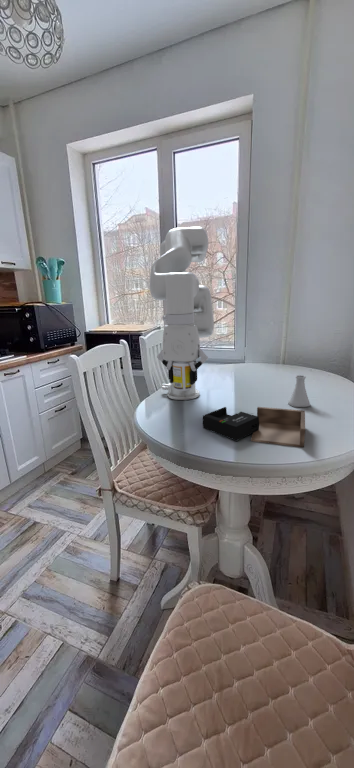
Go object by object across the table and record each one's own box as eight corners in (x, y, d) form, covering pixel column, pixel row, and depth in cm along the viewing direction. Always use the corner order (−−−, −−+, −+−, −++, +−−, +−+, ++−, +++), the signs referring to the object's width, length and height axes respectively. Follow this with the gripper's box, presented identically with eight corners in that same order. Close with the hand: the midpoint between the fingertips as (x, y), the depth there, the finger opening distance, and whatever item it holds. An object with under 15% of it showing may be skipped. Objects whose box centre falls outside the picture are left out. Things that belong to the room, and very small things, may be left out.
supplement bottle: (192, 385, 96) (191, 352, 93) (193, 391, 91) (192, 356, 88) (173, 386, 96) (172, 353, 93) (173, 392, 91) (171, 357, 88)
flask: (306, 400, 112) (308, 373, 109) (313, 408, 105) (315, 378, 102) (285, 401, 113) (287, 373, 110) (290, 408, 106) (292, 379, 103)
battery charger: (259, 429, 89) (259, 416, 88) (236, 441, 83) (236, 427, 82) (225, 418, 99) (224, 406, 98) (202, 428, 93) (201, 415, 92)
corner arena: (250, 441, 84) (251, 423, 82) (257, 422, 96) (257, 406, 94) (303, 447, 79) (305, 429, 78) (303, 427, 91) (304, 410, 90)
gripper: (146, 321, 87) (151, 384, 93) (207, 321, 81) (208, 388, 87) (157, 318, 94) (161, 377, 99) (214, 318, 88) (214, 380, 93)
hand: (183, 381), depth 93 cm, fingers closed on supplement bottle, 5 cm apart
